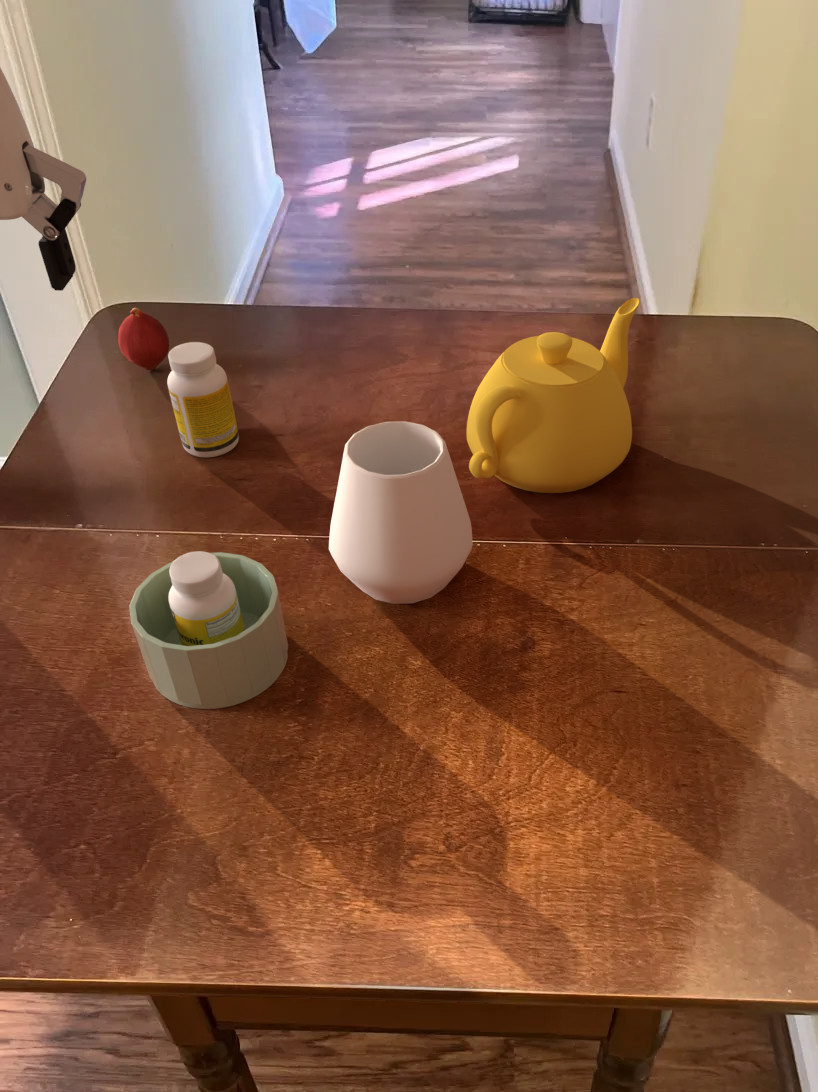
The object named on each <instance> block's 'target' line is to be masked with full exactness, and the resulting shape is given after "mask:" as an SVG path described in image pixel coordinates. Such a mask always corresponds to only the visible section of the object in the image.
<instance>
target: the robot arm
mask: <svg viewBox="0 0 818 1092" xmlns="http://www.w3.org/2000/svg"><path fill="white" fill-rule="evenodd" d="M45 179H46V180H48V181H51V182H53V183H55V184H56V185H57V186H59V188H60V191H61V193H60V200H59V203H58V204H56V202H55V201H53V200H52V199H51V198H50V197H49V196H48V195H47V194H45V191H46V184H45V183H46V182H45ZM86 183H87V175H86V173H85V172H84V171H83V170H81V169H79V168H76V167H75V166H73V165H71V164H69V163H66V162H65V161H62V160H60V159H58V158H57V157H54V156H53V155H50V154H49V153H47V152H44V151H42V150H40V149H38V148H36V147H35V145H34V142H33V139H32V136H31V134H30V132H29V129H28V126H27V123H26V120H25V118H24V116H23V113H22V111H21V109H20V106H19V103H18V102H17V99H16V97H15V94H14V92H13V90H12V88H11V86H10V84H9V82H8V80H7V77H6V75H5V74H4V71H3V69H2V68H1V67H0V221H9V220H10V221H11V220H16V219H19V218H22V219H24V221H26V222H27V223H28V224H29V225H31V226H32V228H34V229H35V230H36V231H37V232H38V233H40V234H41V236H42V237H41V238H40V239H39V240H38V249H39V251H40V255H41V258H42V261H43V265H44V268H45V271H46V274H47V277H48V280H49V284H50V287H51V288H52V289H53V290H54V291H61V292H63V291H64V289H65V288H66V287H67V285H68V284H69V283H70V281H71V280H72V278H73V277H74V275H75V273H76V268H77V267H76V261H75V258H74V254H73V252H72V247H71V244H70V241H69V237H68V234H67V230H66V228H67V227H68V225H69V224H70V222H71V221H72V220H73V218H74V217H75V215H77V212H78V211H79V210H80V208H81V207H82V199H83V196H84V191H85V187H86Z"/></svg>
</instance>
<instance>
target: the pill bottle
mask: <svg viewBox="0 0 818 1092" xmlns="http://www.w3.org/2000/svg"><path fill="white" fill-rule="evenodd" d="M216 356H217V355H216V351H215V349H214V347H213V346H212V345H210V344H208V343H206V342H200V341H189V342H185V343H181V344H179V345H176V346H174V347H172V348H171V349H170V350H169V351H168V353H167V357H168V362H169V366H170V370H171V371H170V372H169V374H168V377H167V381H166V383H167V389H168V393H169V398H170V401H171V405H172V408H173V413H174V416H175V417H174V418H175V422H176V425H177V429H178V433H179V438H180V440H181V445H182V448H183V449H184V450H185V451H186V452H187V453H188V454H190V455H192V456H194V457H198V458H208V459H209V458H215V457H219V456H223V455H225V454H227V453H229V452H230V451H232V450H233V449H234V448H235V447H236V446H237V445H238V443H239V440H240V436H239V428H238V423H237V419H236V414H235V408H234V405H233V400H232V396H231V395H232V394H231V390H230V385H229V379H228V376H227V373H226V371H225V370H224V368H223V367H222V366H221V365H219V364H218V363H217V357H216Z"/></svg>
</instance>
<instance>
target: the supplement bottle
mask: <svg viewBox="0 0 818 1092" xmlns="http://www.w3.org/2000/svg"><path fill="white" fill-rule="evenodd" d="M211 553H212V552H207V551H203V550H199V551H197V550H196V551H190V552H187V553H184V554H181V555H180V556H178V557H176V558H175V560H173V561H174V562H173V563H172V564H171V566H170V570H169V573H170V577H171V581H172V584H173V585H172V587H171V589H170V592H169V604H170V608H171V611H172V614H173V618H174V621H175V624H176V627H177V631H178V634H179V637H180V641H181V644H182V645H183V646H196V645H206V644H214V643H217V642H220V641H223V640H226V639H229V638H232V637H234V636H237V635H239V634H240V633H242V632H243V631H245V627H244V623H243V619H242V615H241V610H240V606H239V602H238V598H237V593H236V589H235V586H234V584H233V582H232V580H231V579H230V578H229V577H228V576H227V575H225V574H224V573H222V569H221V565H220V561H219V560H218V558H217V557H216V556H215V555H213V554H211Z"/></svg>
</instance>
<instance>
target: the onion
mask: <svg viewBox="0 0 818 1092" xmlns="http://www.w3.org/2000/svg"><path fill="white" fill-rule="evenodd" d="M129 314H130V315H128V316H127V317H125V318H124V319H123V321H122V322H121V324H120V325H119V328H118V334H117V343H118V347H119V350H120V352H121V354H122V355H123V356H124V357H125V359H126V360H127V361H128V362H130V363H132V364H134V365H136V366H137V367H141V368H143V369H144V370H146V371H153V370H155V369H156V368H157V367H159V365H160V364H161V363H162V362H163V361H164V360H165V359H166V357H168V354H169V351H170V349H169V348H170V337H169V335H168V332H167V330H166V329H165V326H164V325H163V324H162V323H161V322H160V321H159V319H157V318H155V317H154V316H153V315H151V314H149V313H147V312H144V311H142V310H141V309H140V308H138V307H132V309H131V310H130V311H129Z"/></svg>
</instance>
